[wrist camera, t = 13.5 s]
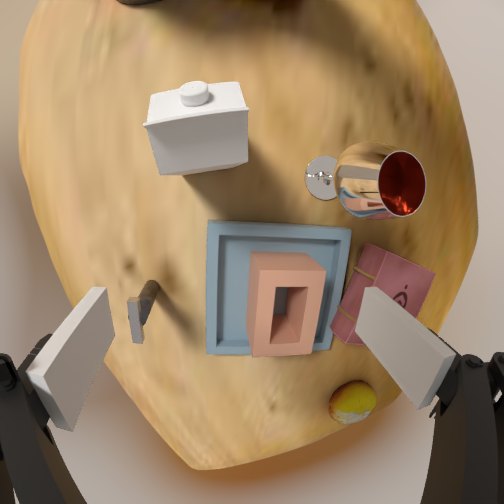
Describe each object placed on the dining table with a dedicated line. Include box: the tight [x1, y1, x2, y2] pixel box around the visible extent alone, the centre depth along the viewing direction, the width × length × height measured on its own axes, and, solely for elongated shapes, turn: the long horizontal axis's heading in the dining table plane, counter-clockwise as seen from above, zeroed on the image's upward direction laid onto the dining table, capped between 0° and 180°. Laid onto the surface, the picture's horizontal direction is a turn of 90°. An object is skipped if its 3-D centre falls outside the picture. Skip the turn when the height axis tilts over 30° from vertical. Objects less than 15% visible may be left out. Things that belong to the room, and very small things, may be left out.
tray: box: [206, 220, 352, 355], centre depth 40 cm, size 20×20×2 cm
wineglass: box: [305, 141, 426, 221], centre depth 29 cm, size 8×8×18 cm
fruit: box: [329, 380, 377, 424], centre depth 48 cm, size 11×10×8 cm
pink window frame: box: [246, 251, 326, 357], centre depth 37 cm, size 14×8×8 cm, turn 176°
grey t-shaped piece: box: [127, 280, 160, 344], centre depth 33 cm, size 5×2×11 cm, turn 176°
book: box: [329, 242, 436, 345], centre depth 40 cm, size 14×15×5 cm
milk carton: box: [143, 81, 249, 175], centre depth 25 cm, size 7×7×19 cm
